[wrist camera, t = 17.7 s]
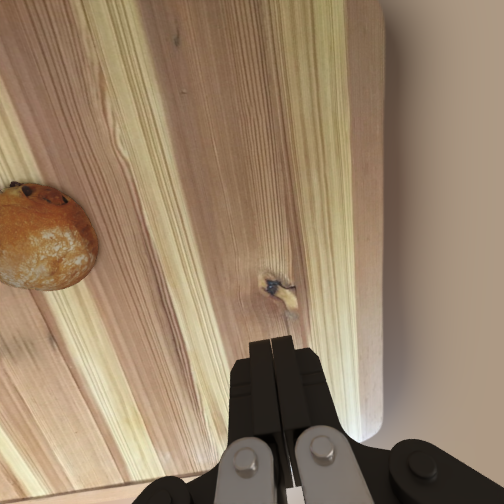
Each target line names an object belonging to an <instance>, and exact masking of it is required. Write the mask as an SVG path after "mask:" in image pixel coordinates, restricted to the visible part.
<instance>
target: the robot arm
mask: <svg viewBox="0 0 504 504" xmlns="http://www.w3.org/2000/svg"><path fill="white" fill-rule="evenodd" d="M271 342H272V348H271V343H270V339H266V340H260V341H255V342H249V353H250V358H246V359H240V360H236V362H235V364H234V366H233V368H232V370H231V372H230V399H229V426H228V444H227V448H226V450H225V451H224V453H223V454H222V456H221V459H220V462H219V463H218V464H217V465H216V466H215V467H214V468H213V469H211V470H210V471H209V472H207V473H206V474H204V475H202V476H200V477H198V478H196V479H194V480H192V481H190V482H188V483H185V482H184V481H183V480H182V479H180V478H178V477H175V476H166V477H162V478H159V479H157V480H155V481H154V482H152V483H151V484H150V485H148V486H147V487H146V488H145V489H144V490H143V491H142V492H141V494H140V495H139V496H138V497H137V498H136V499H135V501H134V502H133V503H132V504H288V503H287V495H286V488H293V481H292V474H291V467H292V471H293V476H294V480H295V485H296V487H298V486H302V491H303V496H304V501H305V504H504V488H503V487H501V486H500V485H498V484H497V483H495V482H493V481H492V480H490V479H489V478H487V477H485V476H483V475H482V474H480V473H479V472H477V471H475V470H474V469H472V468H471V467H469V466H467V465H466V464H464V463H462V462H461V461H459V460H458V459H456V458H454V457H453V456H451V455H449V454H448V453H446V452H445V451H443V450H441V449H439V448H438V447H436V446H435V445H433V444H431V443H428V442H426V441H422V440H418V439H407V440H403V441H401V442H399V443H397V444H396V445H395V446H394V447H393V448H392V449H391V450H385V449H378V448H373V447H368V446H364V445H362V444H360V443H358V442H356V441H354V440H353V439H352V438H350V437H349V436H348V435H347V434H346V433H345V431H344V430H343V428H342V427H341V424H340V422H339V419H338V416H337V413H336V410H335V406H334V403H333V400H332V397H331V394H330V391H329V388H328V385H327V382H326V378H325V375H324V372H323V369H322V366H321V363H320V360H319V357H318V356H317V355H316V354H315V353H314V352H313V351H312V350H311V349H310V348H303V349H297V350H295V349H294V345H293V340H292V336H291V335H289V336H283V337H277V338H271ZM272 349H273V353H272ZM273 356H274V358H273ZM289 457H290V460H289ZM290 462H291V467H290Z"/></svg>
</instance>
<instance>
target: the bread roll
mask: <svg viewBox="0 0 504 504" xmlns="http://www.w3.org/2000/svg"><path fill="white" fill-rule="evenodd" d="M97 253H98V239H97V235H96V234H95V231H94V228H93V227H92V225H91V222H90V221H89V219H88V217H87V216H86V214H85V212H84V211H83V209H82V208H81V207H80V206H79V205H78V204H77V203H75V202H74V200H72V199H71V198H70V197H68V196H66V195H65V194H63V193H62V192H60V191H58V190H57V189H55V188H52V187H48V186H42V185H38V184H29V183H27V184H23V183H21V184H20V183H18V182H14V181H12V182H11V184H10V187H9V188H5V189H3V192H2V191H1V190H0V281H1V282H2V283H4V284H7V285H9V286H12V287H16V288H21V289H35V290H38V291H53V290H60V289H65V288H67V287H70V286H72V285H74V284H76V283H78V282H80V281H81V280H82V279H83V278H85V277H86V276H87V275H88V273H89V272H90V271H91V269H92V267H93V266H94V263H95V261H96V257H97Z"/></svg>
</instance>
